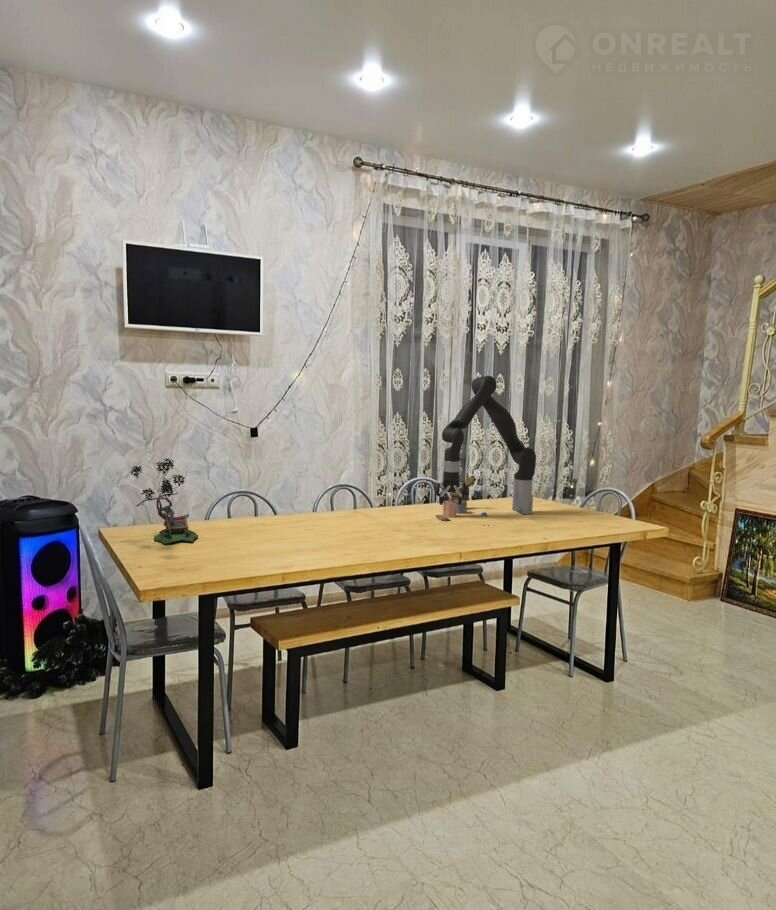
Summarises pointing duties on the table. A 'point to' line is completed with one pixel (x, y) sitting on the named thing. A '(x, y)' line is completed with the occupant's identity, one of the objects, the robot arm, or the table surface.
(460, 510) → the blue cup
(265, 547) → the table surface
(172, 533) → the bonsai tree
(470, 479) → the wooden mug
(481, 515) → the blue marble
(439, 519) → the walnut coaster
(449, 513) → the terracotta cup
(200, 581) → the table surface
